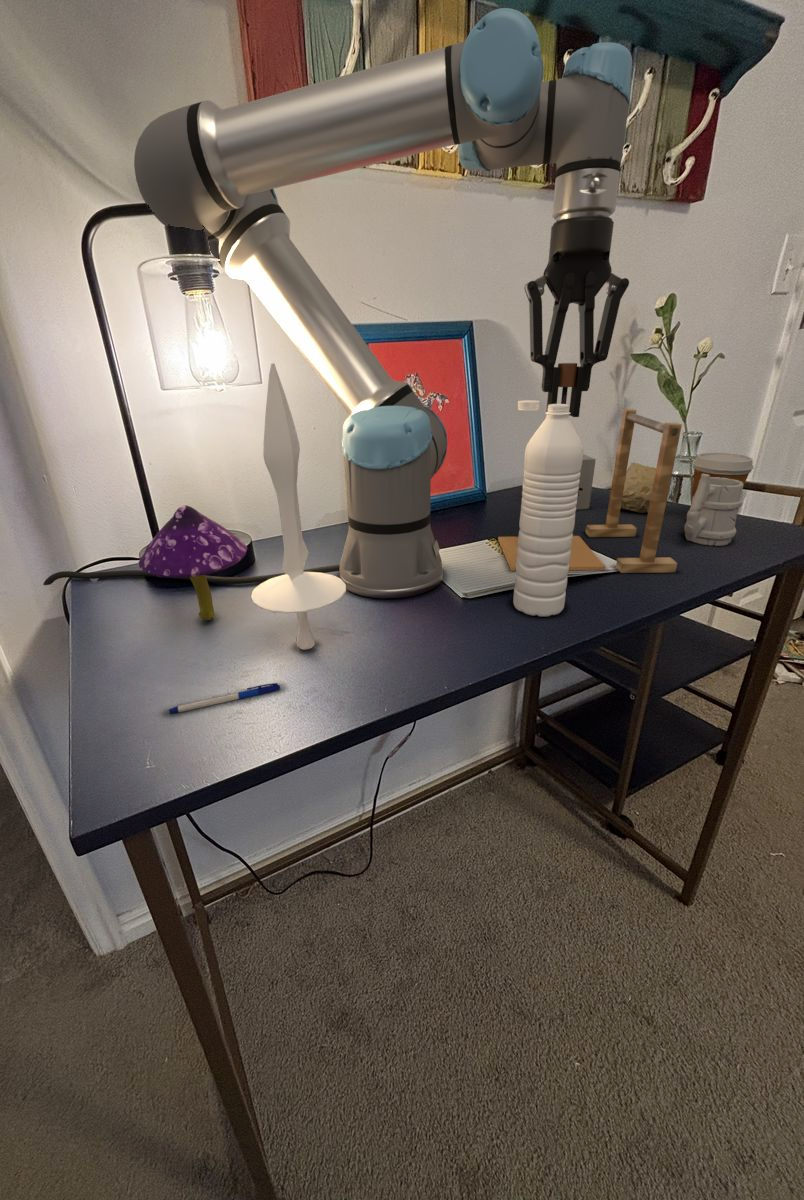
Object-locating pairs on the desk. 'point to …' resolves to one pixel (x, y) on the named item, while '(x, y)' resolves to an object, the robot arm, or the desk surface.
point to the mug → (714, 511)
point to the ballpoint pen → (228, 698)
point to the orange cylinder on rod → (567, 378)
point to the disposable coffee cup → (721, 467)
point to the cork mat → (578, 560)
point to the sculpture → (290, 524)
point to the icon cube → (585, 482)
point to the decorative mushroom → (192, 552)
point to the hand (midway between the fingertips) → (562, 415)
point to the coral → (638, 488)
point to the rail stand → (657, 501)
